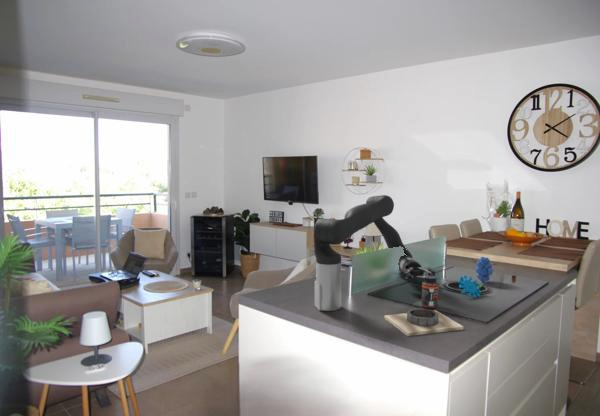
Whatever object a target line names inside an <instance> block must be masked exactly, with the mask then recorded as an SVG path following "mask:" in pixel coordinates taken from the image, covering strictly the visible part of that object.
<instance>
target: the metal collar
mask: <svg viewBox="0 0 600 416" xmlns="http://www.w3.org/2000/svg"><path fill="white" fill-rule="evenodd" d="M406 313H407V321H408V322H409V323H411V324H414V325H417V326H425V327H429V326H435V325H437V324H438V318H439V316H438V313H436V312H435V311H433V310H432V309H429V308H419V307H418V308H410V309H408V310H407V312H406ZM418 316H420V317H428V318H420V317H418Z"/></svg>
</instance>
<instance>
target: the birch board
mask: <svg viewBox="0 0 600 416" xmlns="http://www.w3.org/2000/svg"><path fill="white" fill-rule="evenodd" d="M432 311H435V312H436V313H438V316H439V318H438V324H437V325H435V326H429V327H425V326H417V325H414V324H411V323H409V322H408V321H407V312H406V313H405V312H404V313H395V314H387V315H386V314H385V315H384V316H383V318H384V319H385V321H387V322H388V323H390V324H391V325H392V326H394V327H395V328H396V329H398V330H399V331H400V332H401V333H402V334H404V335H405V336H407V337H410V336H412V337H413V336H419V335H420V336H421V335H427V334H437V333H444V332H454V331H462V330H464V325H462V324H460V323H458V322H456V321H455V320H453V319H452V318H450V317H448V316H446V315H444V314H443V313H441V312H440V311H437V310H436V309H434V310H432ZM418 317H420V316H418ZM420 318H428V317H420Z"/></svg>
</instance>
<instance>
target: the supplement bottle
mask: <svg viewBox="0 0 600 416" xmlns="http://www.w3.org/2000/svg"><path fill="white" fill-rule="evenodd" d="M439 285H440V284H439V283H438V282H437V277H436V275H435V276H425V278H424V281H423V282H422V284H421V306H422V307H423V306H424V308H426V307H428V308H427V309H436V308H438V306H439Z"/></svg>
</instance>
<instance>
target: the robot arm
mask: <svg viewBox="0 0 600 416" xmlns="http://www.w3.org/2000/svg"><path fill="white" fill-rule="evenodd" d="M394 207H395V203H394V200H393V199H392V197H391V196H389V195H385V194H383V195H381V194H380V195H373V196H370V197H368V198H366V201H365V203H363V204H359V205H355V206H353V207H352V208H350V209H348V210H347V211H346V213H345V214H344V218H343V219H334V218H324V217H323V218H319V219H317V220H316V222H315V224H314V227H313V246H314V248H313V249H314V255H315V275H316V276H315V280H314V307H315V308H316V309H317V310H318V311H319V312H320V311H325V312H333V311H338V310H340V309H341V308H342V255H341V254H340V253H339V252H338V251H335V249H333V248H332V246H335V245H341V244H342V243H343V242H345V241H346V240H347V239H349V238H350V237H351V236H352V235H353V234H355V233H357V232H358V231H360V230H361V231H362V230H363V229H365V228H366V227H368V226H369V225H371V224H372V223H373V224H374V225H375V227H376V228H377V229H378V231H379V233H380V234H381V235H382V237H383V240H384V242H385V243H386V246H387V248H393V247H399V246H401V247H403V248H404V249H403V250H404V253H405V254H406V255H407V256H406V255H404V256H401V257H400V259H399V263H398V265H399V270H398V274H397V275H398V276H399V278H401V279H403V278H405V279H407V280H409V281H412V280H413V279H417V278H423V279H425V276H435V277H436V271H435V270H434V269H432V268H430V267H427V269H425V268H423V267H422V265H421V264H420V263H419V262H418V261H417V260H415V259H413V254H412V253H411V251H409V250H408V249H407V247H406V246H405V245H404V243H403V240H402V239H401V236H400V233H399V232H398V231H397V230H396V229H395V228H394V227H393V226H392V225H391V224H390V223H388V221H386V220H385V218H386V217H388V216H390V215H391V214H392V212H393V211H394ZM384 217H385V218H384ZM405 247H406V248H405ZM406 249H407V250H406Z"/></svg>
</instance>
